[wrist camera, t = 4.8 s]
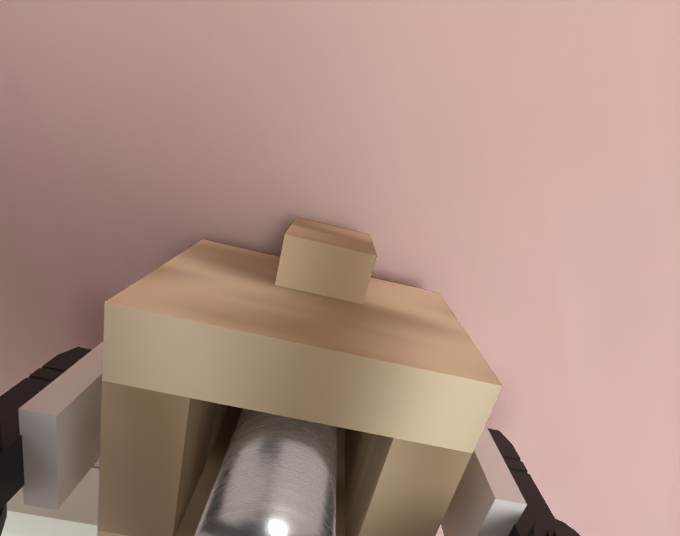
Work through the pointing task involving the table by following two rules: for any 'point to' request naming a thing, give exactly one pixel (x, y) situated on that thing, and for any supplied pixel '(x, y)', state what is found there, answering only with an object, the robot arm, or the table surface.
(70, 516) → the tray
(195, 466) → the tan wooden frame
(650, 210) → the table surface
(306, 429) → the grey glass rounded piece
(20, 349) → the table surface
